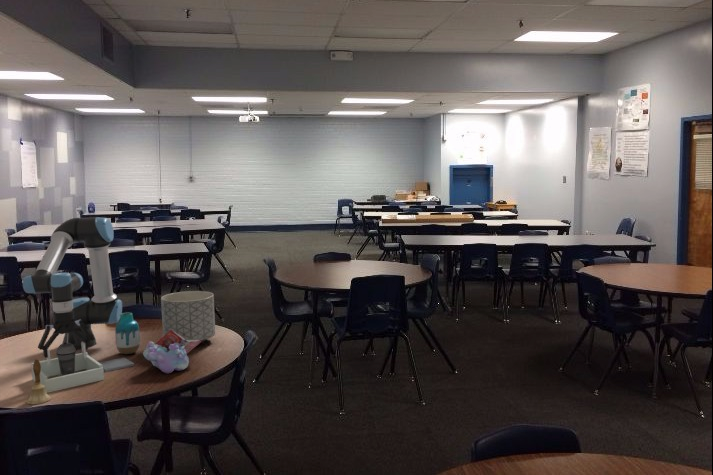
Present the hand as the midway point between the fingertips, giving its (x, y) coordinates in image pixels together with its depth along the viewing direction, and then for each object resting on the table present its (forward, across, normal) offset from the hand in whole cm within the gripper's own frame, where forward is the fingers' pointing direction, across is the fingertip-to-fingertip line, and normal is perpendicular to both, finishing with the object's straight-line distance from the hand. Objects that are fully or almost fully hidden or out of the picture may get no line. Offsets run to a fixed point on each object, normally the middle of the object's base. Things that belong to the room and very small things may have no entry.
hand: (66, 361), depth 247 cm
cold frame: (+8, 0, 0) cm, 8 cm away
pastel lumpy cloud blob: (+8, +38, -15) cm, 42 cm away
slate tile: (+8, +21, +5) cm, 23 cm away
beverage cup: (+8, 0, 0) cm, 8 cm away
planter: (+8, +61, +15) cm, 63 cm away
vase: (+8, +32, +19) cm, 38 cm away
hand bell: (+8, -15, -17) cm, 24 cm away
